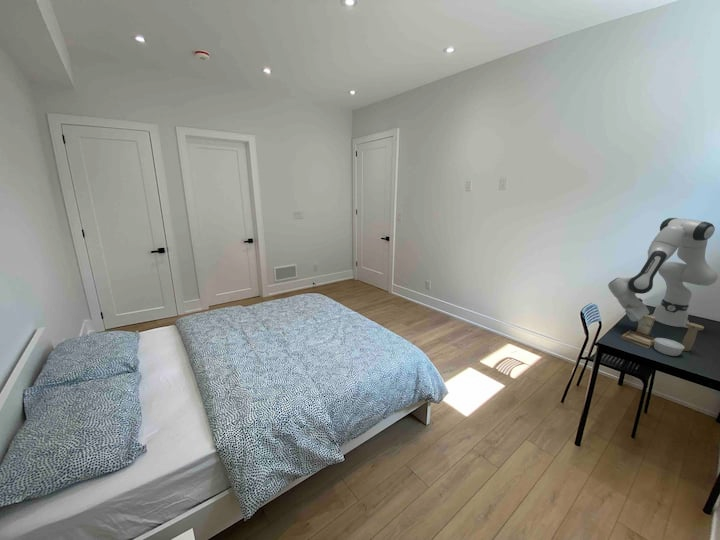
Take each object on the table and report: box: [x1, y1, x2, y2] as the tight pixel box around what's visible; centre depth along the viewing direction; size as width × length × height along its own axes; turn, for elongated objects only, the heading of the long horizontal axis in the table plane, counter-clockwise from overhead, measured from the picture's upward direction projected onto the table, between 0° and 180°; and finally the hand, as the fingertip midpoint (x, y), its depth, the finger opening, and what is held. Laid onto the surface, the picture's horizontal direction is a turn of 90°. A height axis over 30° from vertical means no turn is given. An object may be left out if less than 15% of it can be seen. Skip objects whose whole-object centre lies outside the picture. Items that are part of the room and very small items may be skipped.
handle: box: [681, 322, 705, 352], centre depth 157 cm, size 5×6×15 cm
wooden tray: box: [620, 330, 655, 349], centre depth 167 cm, size 13×12×2 cm
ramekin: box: [653, 337, 685, 357], centre depth 156 cm, size 11×11×5 cm
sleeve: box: [635, 314, 656, 337], centre depth 172 cm, size 5×5×12 cm
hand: (647, 324), depth 171 cm, fingers closed on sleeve, 5 cm apart
